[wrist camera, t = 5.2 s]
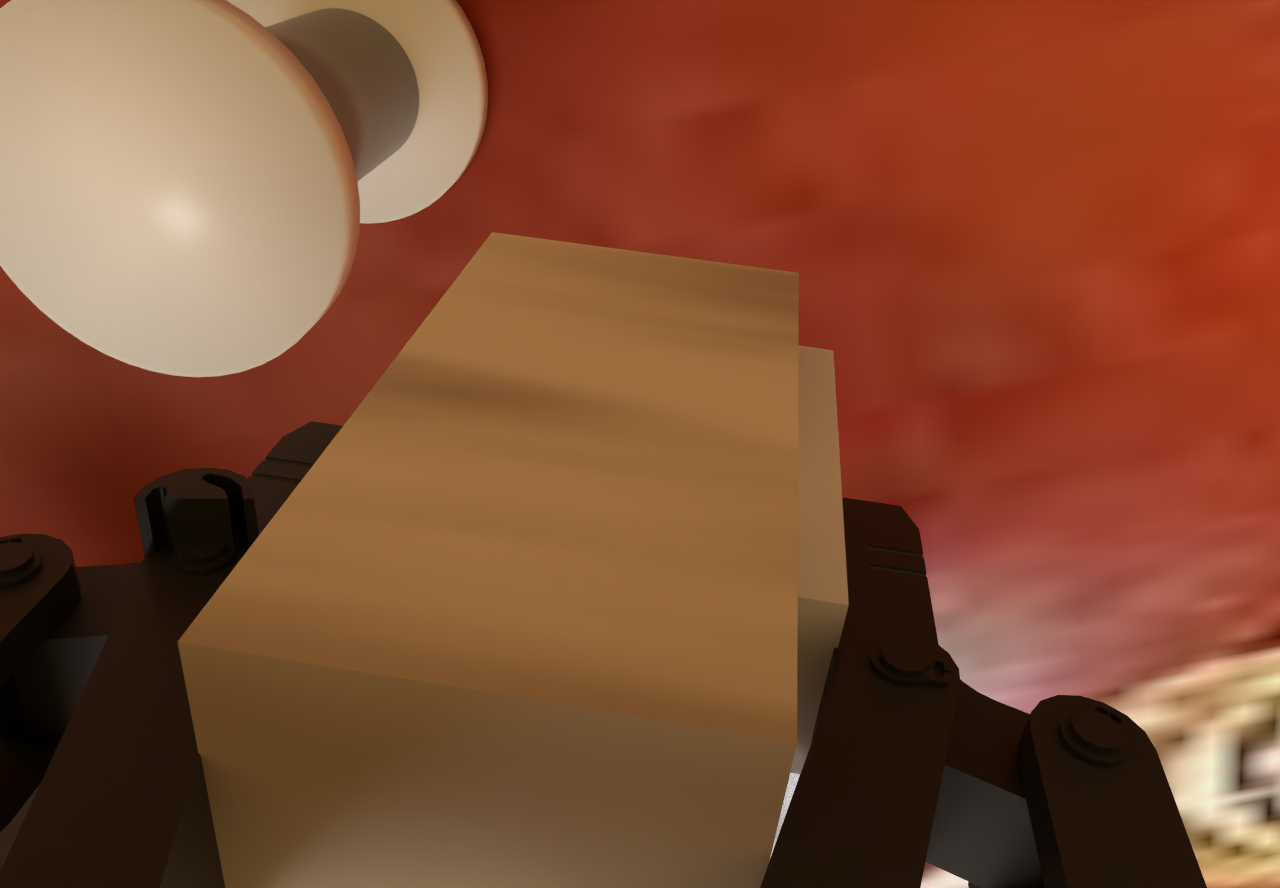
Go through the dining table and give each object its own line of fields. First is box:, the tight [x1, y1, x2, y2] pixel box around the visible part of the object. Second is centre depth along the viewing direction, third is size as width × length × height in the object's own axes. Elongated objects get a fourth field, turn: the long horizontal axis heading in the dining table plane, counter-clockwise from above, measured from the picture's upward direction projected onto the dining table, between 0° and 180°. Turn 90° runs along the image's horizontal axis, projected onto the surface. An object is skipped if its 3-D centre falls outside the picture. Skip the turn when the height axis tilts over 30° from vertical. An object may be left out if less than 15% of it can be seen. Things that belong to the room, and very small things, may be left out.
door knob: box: [0, 0, 488, 377], centre depth 26 cm, size 8×8×12 cm
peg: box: [178, 232, 799, 888], centre depth 14 cm, size 5×5×10 cm
